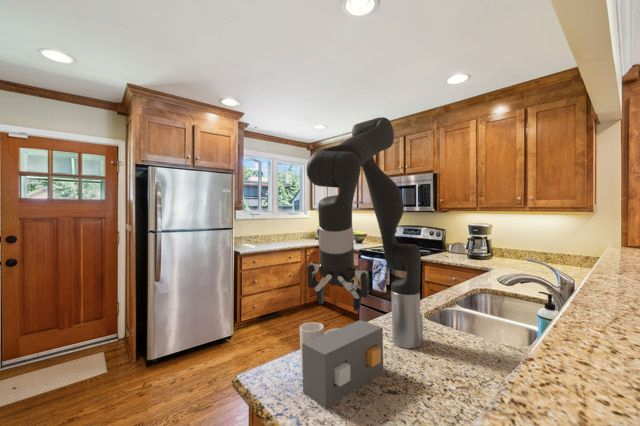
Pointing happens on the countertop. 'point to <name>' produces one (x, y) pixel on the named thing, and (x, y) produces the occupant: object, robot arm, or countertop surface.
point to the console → (339, 361)
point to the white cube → (341, 373)
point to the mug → (309, 334)
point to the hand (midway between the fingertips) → (338, 305)
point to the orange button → (373, 356)
